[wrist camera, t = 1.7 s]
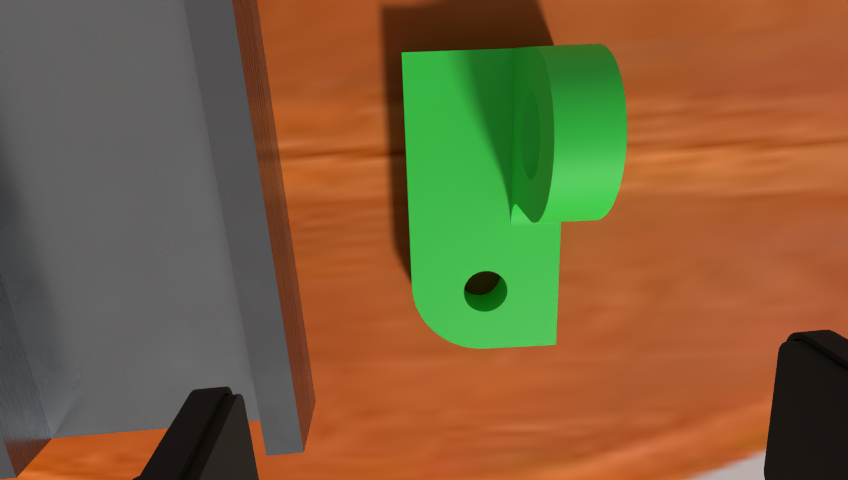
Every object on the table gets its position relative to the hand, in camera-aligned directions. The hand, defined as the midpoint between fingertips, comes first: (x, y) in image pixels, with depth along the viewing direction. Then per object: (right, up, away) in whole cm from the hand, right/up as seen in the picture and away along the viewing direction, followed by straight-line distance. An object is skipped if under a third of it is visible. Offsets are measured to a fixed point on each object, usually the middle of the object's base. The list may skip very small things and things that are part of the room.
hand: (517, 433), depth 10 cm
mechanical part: (+1, +5, +14) cm, 15 cm away
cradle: (-14, +4, +14) cm, 20 cm away
